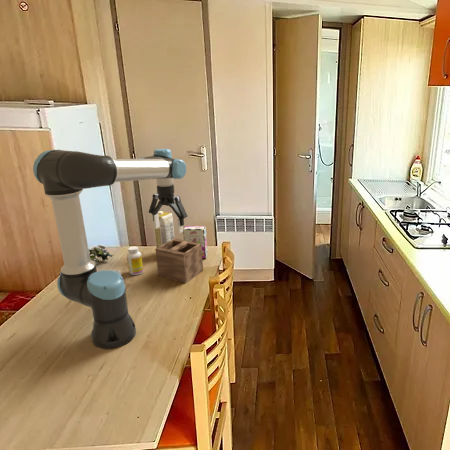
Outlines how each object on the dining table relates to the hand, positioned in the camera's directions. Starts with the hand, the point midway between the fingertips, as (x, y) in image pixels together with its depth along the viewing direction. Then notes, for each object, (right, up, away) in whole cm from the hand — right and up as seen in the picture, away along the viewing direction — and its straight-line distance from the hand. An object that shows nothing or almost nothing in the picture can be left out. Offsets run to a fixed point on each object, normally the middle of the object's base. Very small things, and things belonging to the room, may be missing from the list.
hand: (168, 230), depth 169 cm
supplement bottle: (-17, -21, +9) cm, 28 cm away
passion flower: (-39, -18, +21) cm, 47 cm away
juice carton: (-5, -14, +28) cm, 31 cm away
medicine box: (-24, -26, -6) cm, 36 cm away
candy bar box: (+11, -14, +24) cm, 30 cm away
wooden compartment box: (+5, -21, +7) cm, 22 cm away
